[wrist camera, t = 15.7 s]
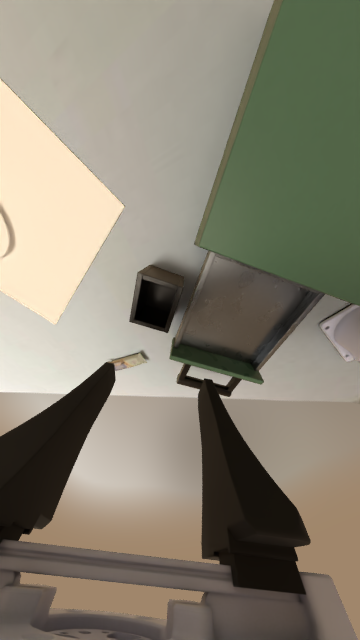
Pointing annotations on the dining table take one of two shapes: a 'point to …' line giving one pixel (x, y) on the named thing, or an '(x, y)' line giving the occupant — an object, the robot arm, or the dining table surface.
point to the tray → (237, 321)
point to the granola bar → (128, 361)
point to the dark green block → (296, 153)
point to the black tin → (156, 298)
